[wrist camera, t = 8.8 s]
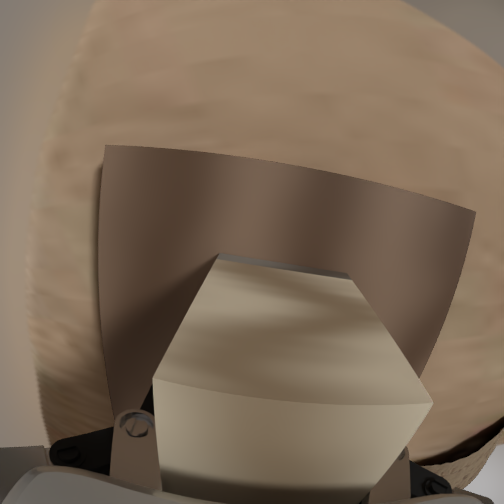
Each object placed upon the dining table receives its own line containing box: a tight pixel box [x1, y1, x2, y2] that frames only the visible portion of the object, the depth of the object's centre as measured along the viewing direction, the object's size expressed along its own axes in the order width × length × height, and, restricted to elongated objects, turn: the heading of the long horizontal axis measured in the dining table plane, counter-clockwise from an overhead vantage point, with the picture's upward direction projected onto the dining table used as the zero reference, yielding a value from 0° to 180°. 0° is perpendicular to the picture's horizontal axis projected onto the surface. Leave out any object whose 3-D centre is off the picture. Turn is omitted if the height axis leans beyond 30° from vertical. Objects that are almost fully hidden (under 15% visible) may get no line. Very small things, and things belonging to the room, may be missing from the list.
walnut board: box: [98, 145, 476, 420], centre depth 15 cm, size 16×26×2 cm, turn 171°
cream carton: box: [153, 253, 434, 504], centre depth 9 cm, size 5×9×8 cm, turn 171°
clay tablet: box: [421, 427, 504, 489], centre depth 17 cm, size 14×10×3 cm
